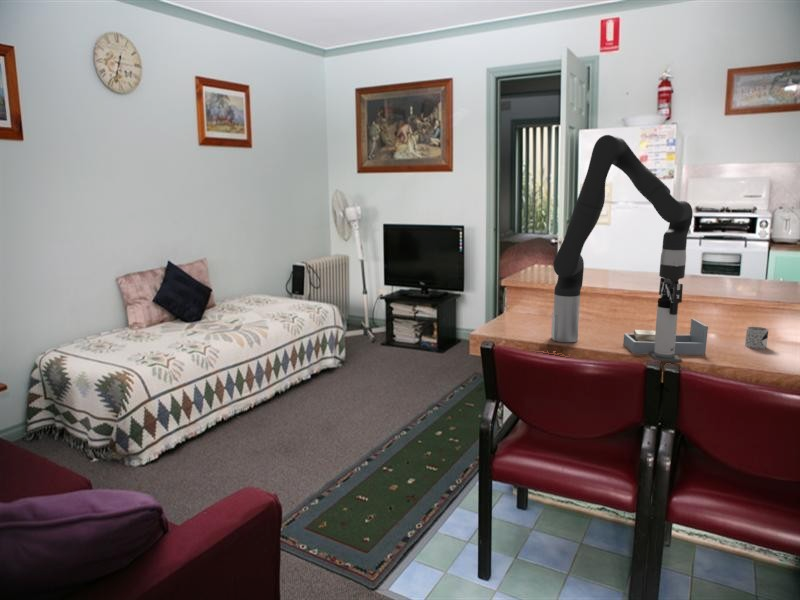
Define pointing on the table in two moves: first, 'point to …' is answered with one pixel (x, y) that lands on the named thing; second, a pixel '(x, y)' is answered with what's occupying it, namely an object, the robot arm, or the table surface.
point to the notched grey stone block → (756, 337)
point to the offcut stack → (644, 335)
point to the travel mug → (665, 330)
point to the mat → (673, 359)
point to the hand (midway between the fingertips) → (668, 311)
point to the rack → (683, 343)
